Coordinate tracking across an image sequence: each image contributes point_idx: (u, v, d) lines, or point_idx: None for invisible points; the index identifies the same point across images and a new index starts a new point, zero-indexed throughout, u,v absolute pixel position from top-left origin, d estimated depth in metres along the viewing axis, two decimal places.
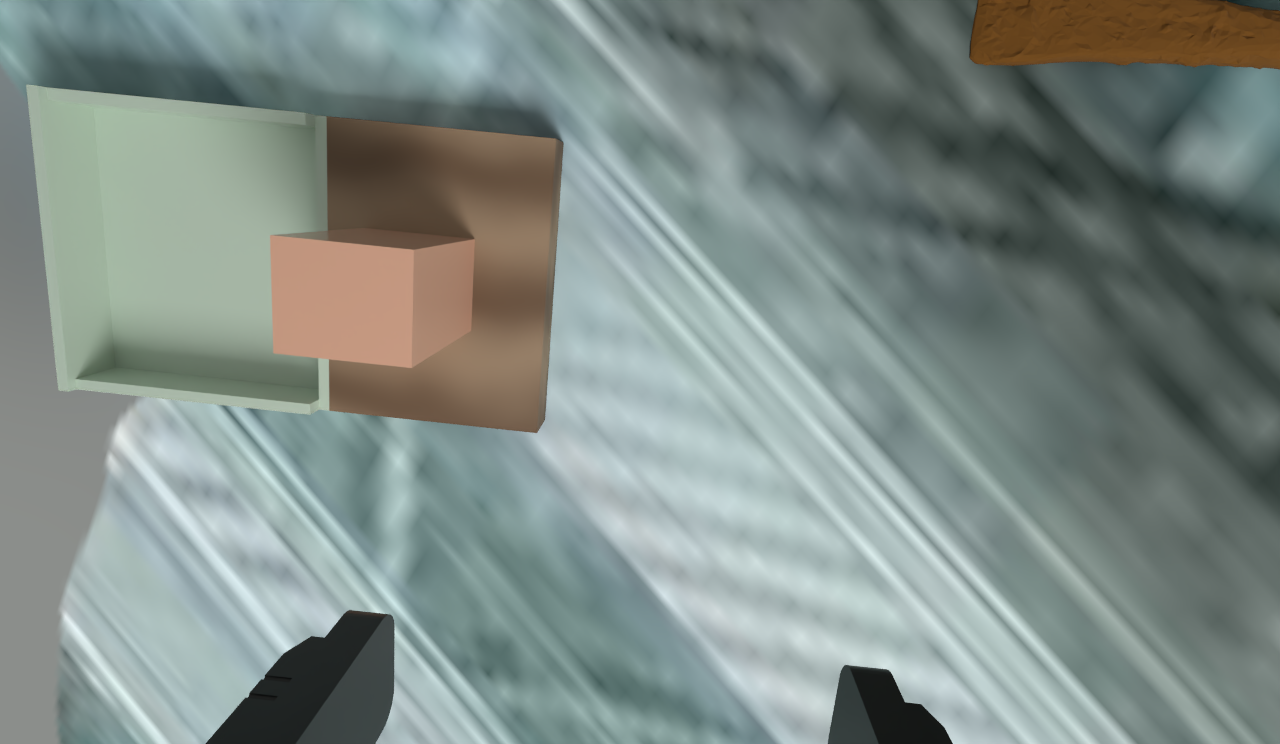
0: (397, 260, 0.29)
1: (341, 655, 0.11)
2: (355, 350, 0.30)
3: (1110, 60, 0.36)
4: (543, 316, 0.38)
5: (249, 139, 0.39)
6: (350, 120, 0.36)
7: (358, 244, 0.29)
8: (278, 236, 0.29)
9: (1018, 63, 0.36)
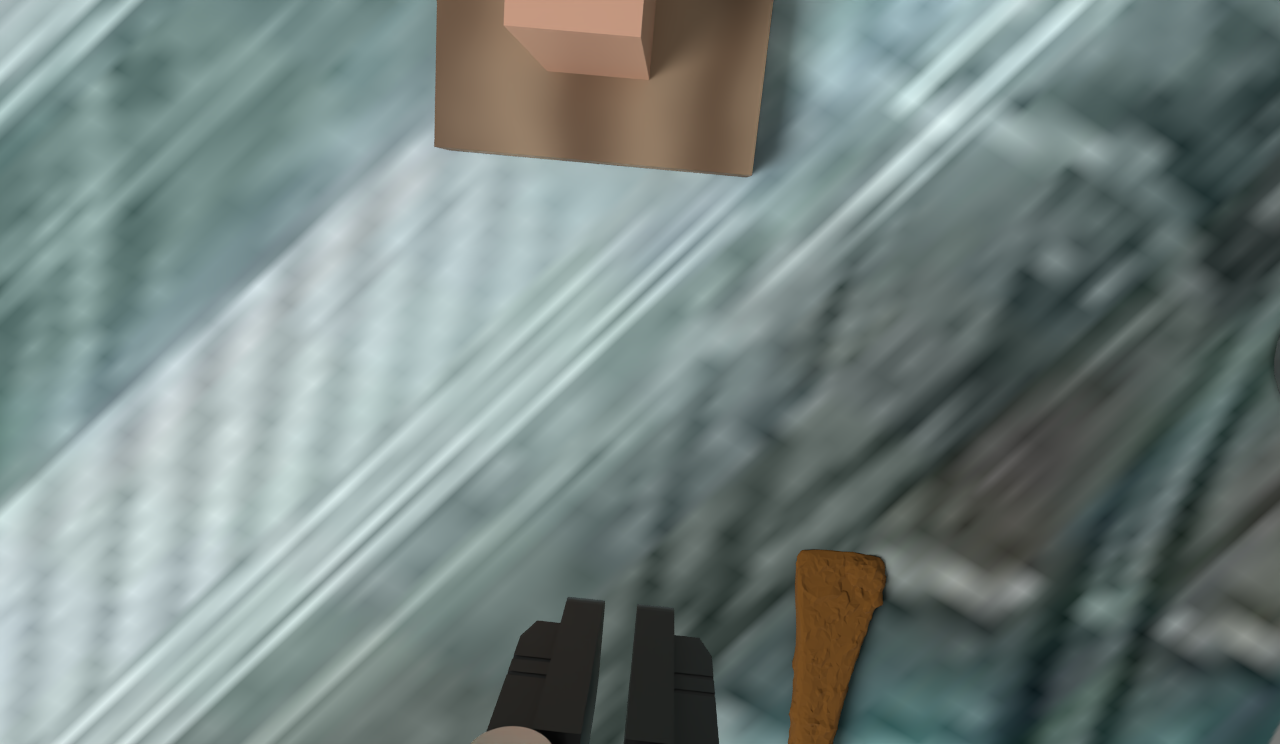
0: (628, 15, 0.25)
1: (583, 636, 0.12)
2: None
3: (796, 655, 0.43)
4: (566, 157, 0.35)
5: None
6: None
7: None
8: None
9: (796, 588, 0.42)
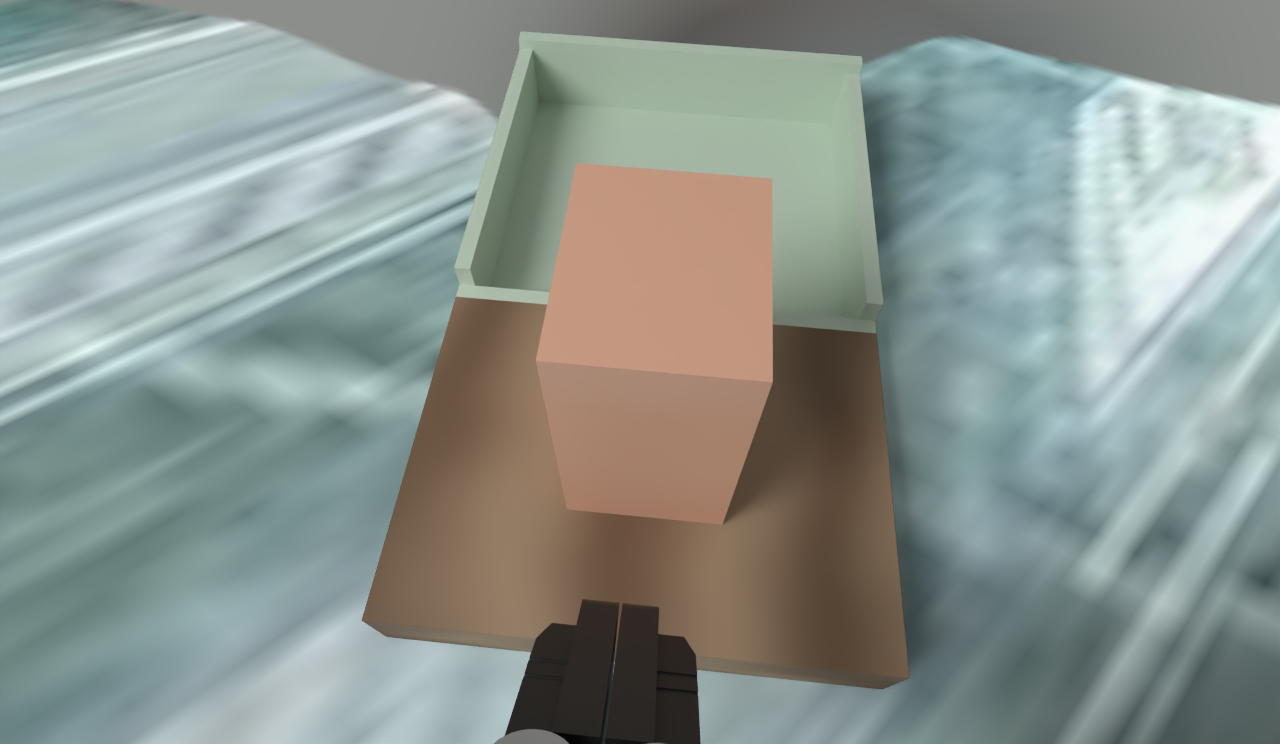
0: (749, 353, 0.15)
1: (599, 638, 0.12)
2: (576, 273, 0.16)
3: None
4: None
5: (819, 255, 0.31)
6: (876, 361, 0.26)
7: (770, 296, 0.16)
8: (770, 189, 0.18)
9: None
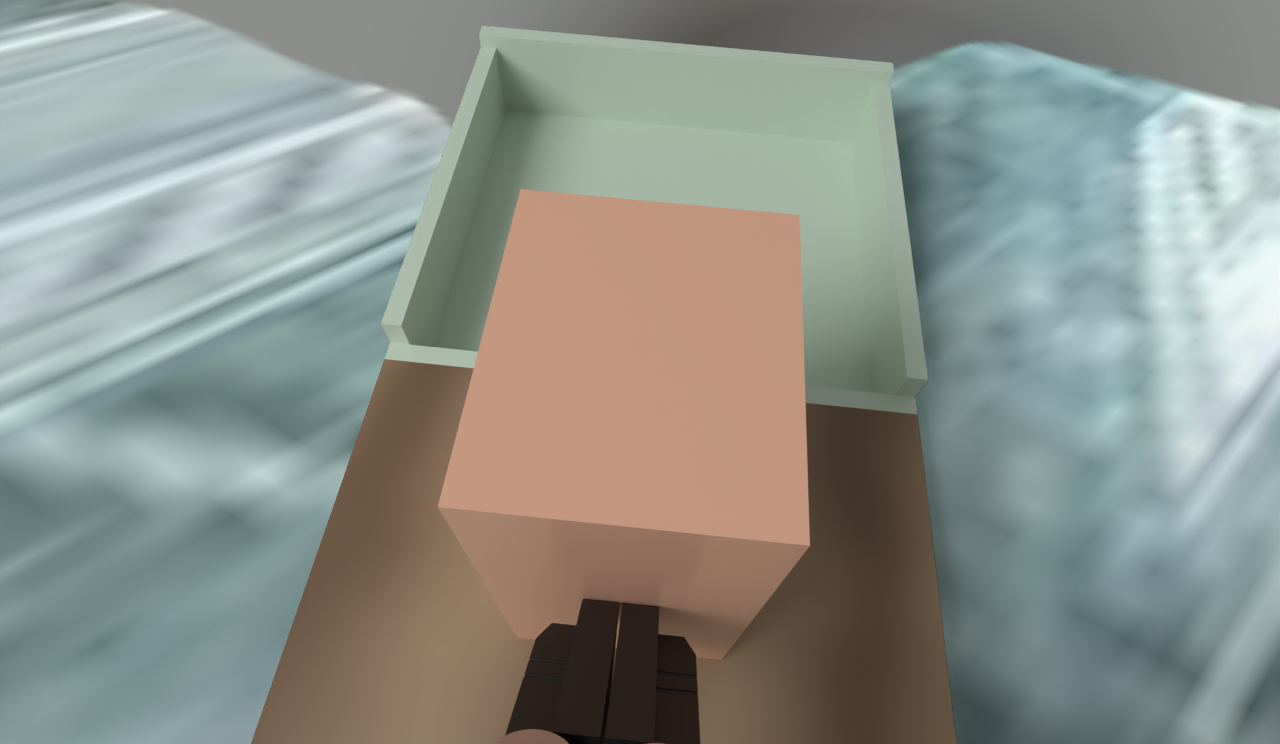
0: (771, 494, 0.10)
1: (599, 639, 0.12)
2: (510, 358, 0.11)
3: None
4: None
5: (841, 305, 0.25)
6: (919, 452, 0.20)
7: (801, 396, 0.11)
8: (798, 230, 0.12)
9: None
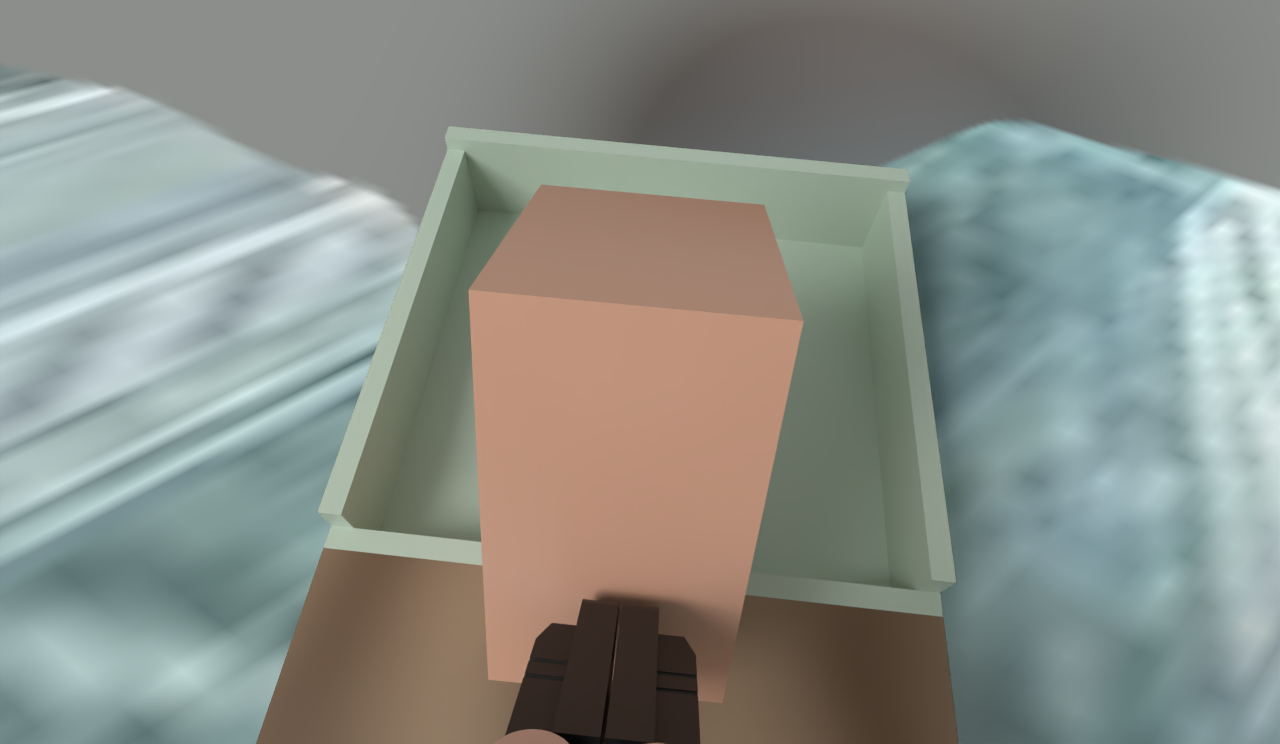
0: (765, 299, 0.11)
1: (599, 639, 0.12)
2: (533, 239, 0.13)
3: None
4: None
5: (851, 453, 0.22)
6: (945, 669, 0.17)
7: None
8: (764, 210, 0.15)
9: None
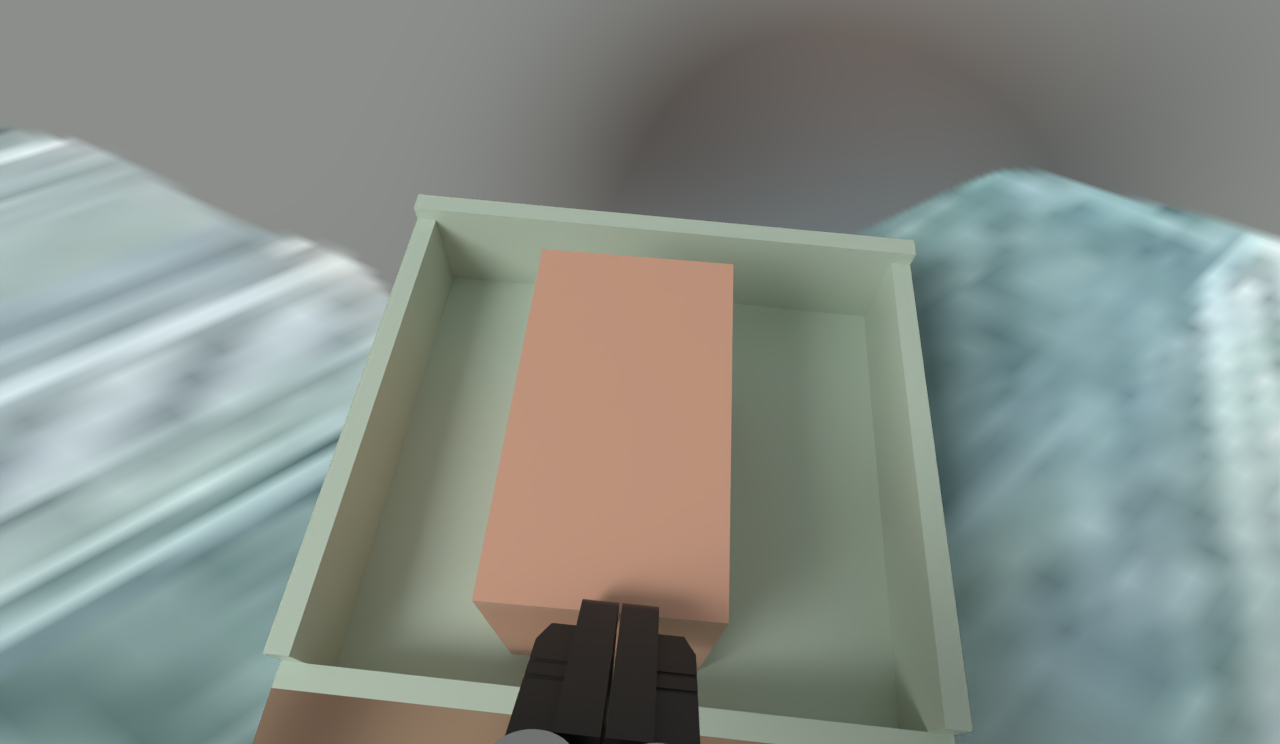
0: None
1: (599, 639, 0.12)
2: None
3: None
4: None
5: (854, 555, 0.20)
6: None
7: None
8: None
9: None
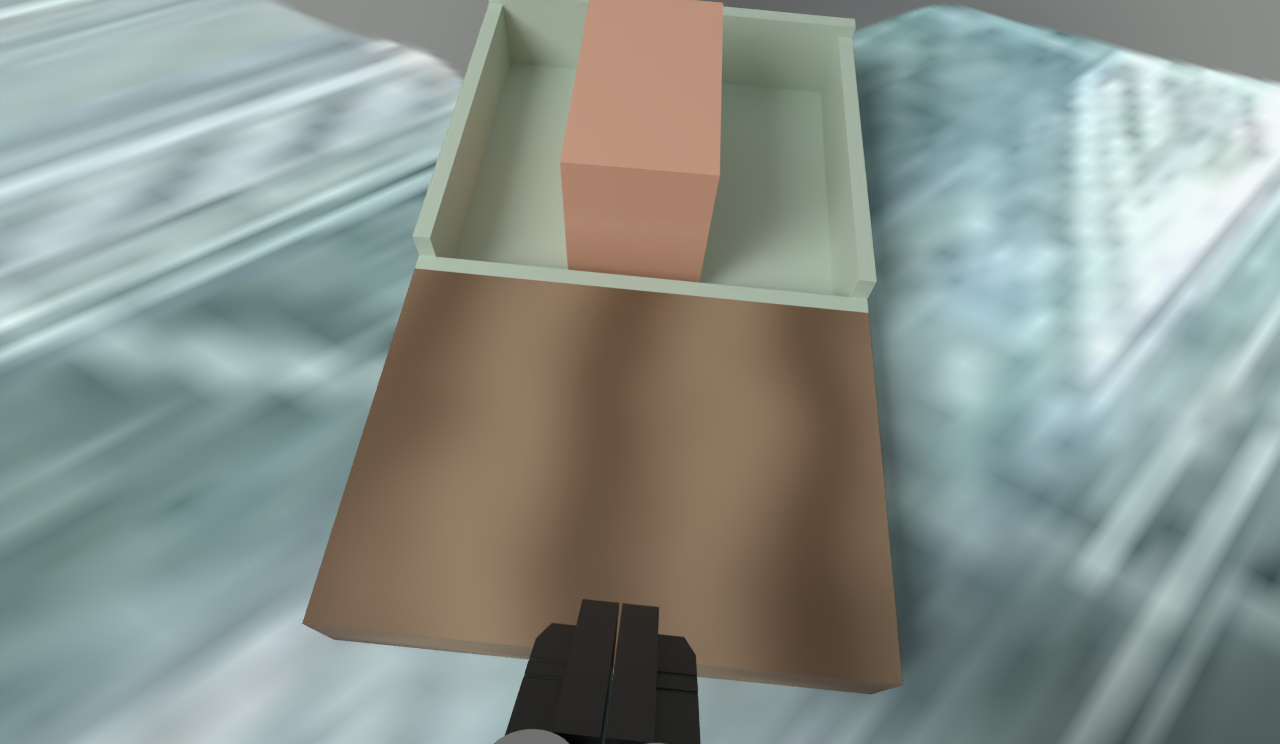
0: None
1: (599, 639, 0.12)
2: None
3: None
4: None
5: (808, 231, 0.29)
6: (868, 342, 0.24)
7: None
8: None
9: None
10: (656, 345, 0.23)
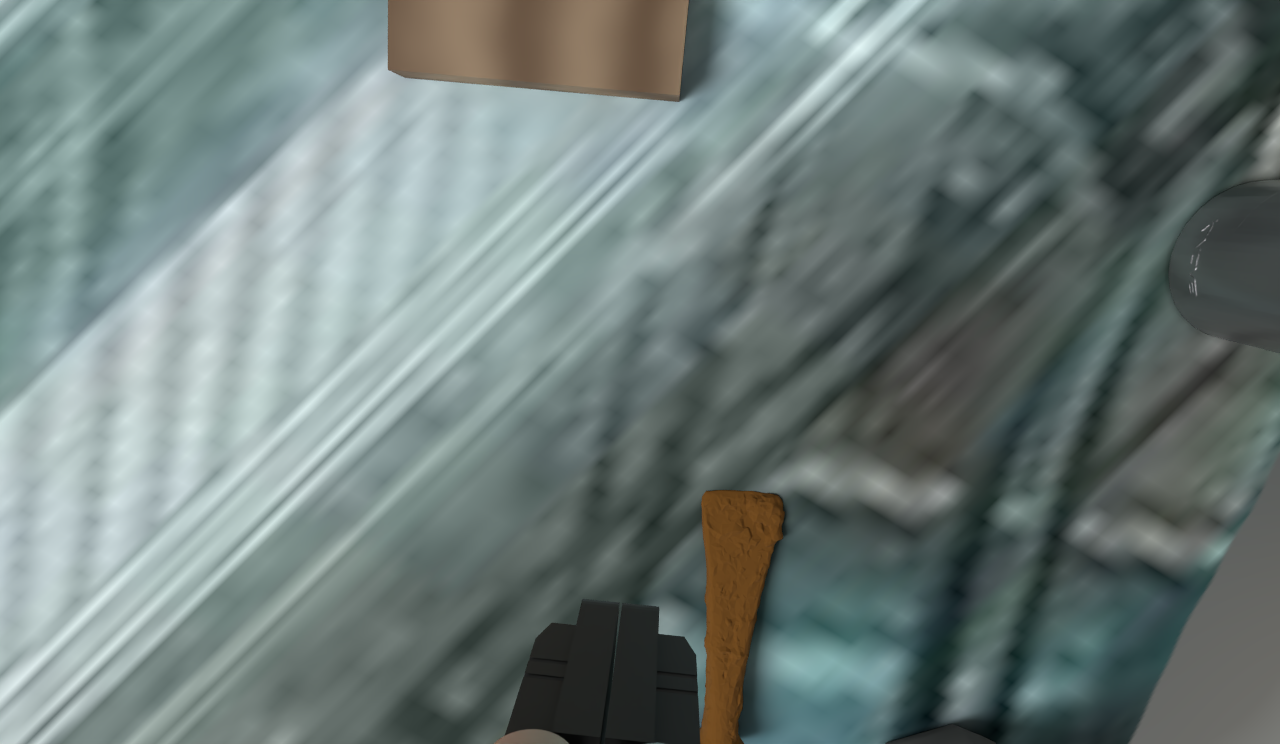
0: None
1: (599, 639, 0.12)
2: None
3: (706, 589, 0.47)
4: (509, 79, 0.38)
5: None
6: None
7: None
8: None
9: (703, 526, 0.46)
10: None
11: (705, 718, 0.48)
